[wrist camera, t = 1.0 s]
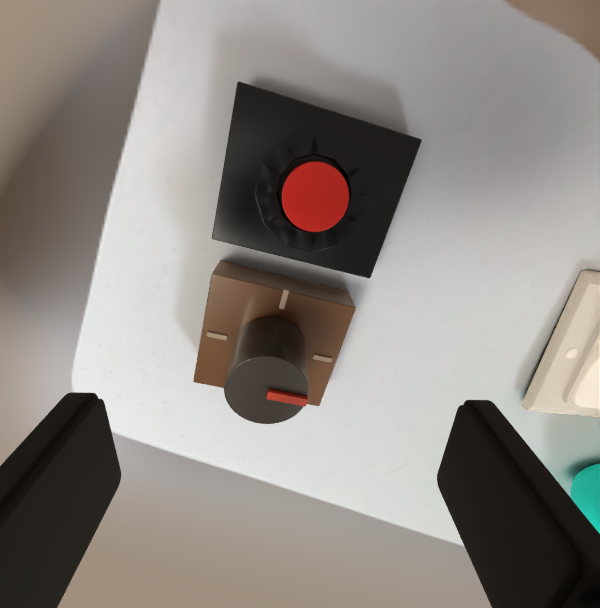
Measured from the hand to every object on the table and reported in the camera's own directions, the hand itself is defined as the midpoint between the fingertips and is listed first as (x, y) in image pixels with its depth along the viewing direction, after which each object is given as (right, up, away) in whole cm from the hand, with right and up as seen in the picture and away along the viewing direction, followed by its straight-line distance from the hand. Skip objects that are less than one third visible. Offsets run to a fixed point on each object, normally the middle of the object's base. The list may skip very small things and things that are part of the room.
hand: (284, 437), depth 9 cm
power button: (+1, +10, +10) cm, 14 cm away
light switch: (+27, 0, +20) cm, 33 cm away
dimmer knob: (-2, +1, +15) cm, 15 cm away
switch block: (+1, +11, +14) cm, 18 cm away
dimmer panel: (-2, +2, +18) cm, 18 cm away
